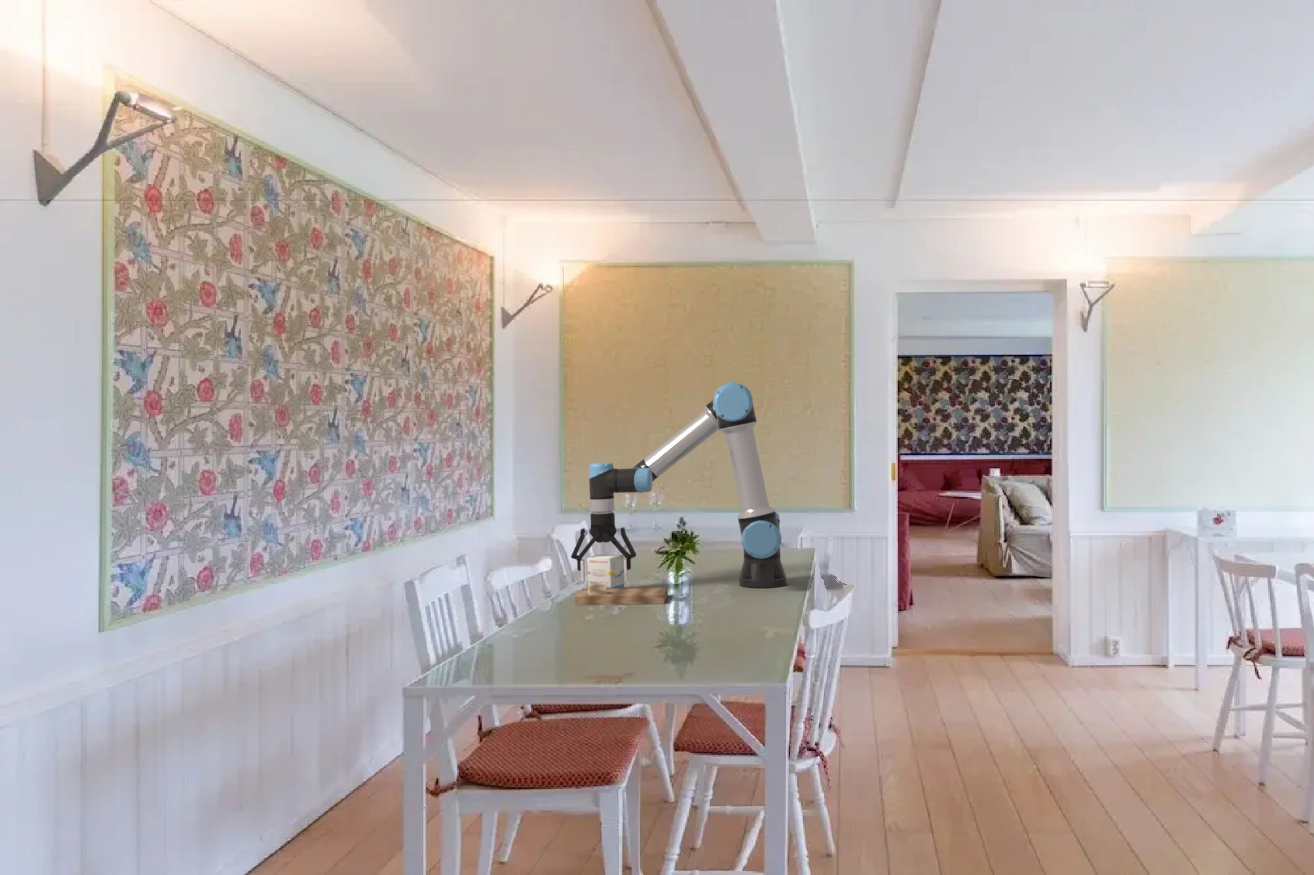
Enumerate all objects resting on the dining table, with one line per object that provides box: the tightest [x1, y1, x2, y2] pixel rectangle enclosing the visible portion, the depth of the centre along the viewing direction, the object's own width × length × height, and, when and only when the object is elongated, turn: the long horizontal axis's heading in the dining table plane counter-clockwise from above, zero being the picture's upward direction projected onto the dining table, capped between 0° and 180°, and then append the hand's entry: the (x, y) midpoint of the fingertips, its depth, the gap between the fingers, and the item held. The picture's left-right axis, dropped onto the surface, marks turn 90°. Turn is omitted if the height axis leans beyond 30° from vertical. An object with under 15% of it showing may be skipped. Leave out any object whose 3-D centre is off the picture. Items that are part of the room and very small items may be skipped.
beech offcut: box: [587, 582, 607, 596], centre depth 300 cm, size 5×4×3 cm
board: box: [574, 586, 669, 606], centre depth 303 cm, size 26×14×3 cm, turn 85°
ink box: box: [586, 553, 625, 588], centre depth 317 cm, size 9×8×12 cm
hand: (604, 580), depth 316 cm, fingers open, 13 cm apart
